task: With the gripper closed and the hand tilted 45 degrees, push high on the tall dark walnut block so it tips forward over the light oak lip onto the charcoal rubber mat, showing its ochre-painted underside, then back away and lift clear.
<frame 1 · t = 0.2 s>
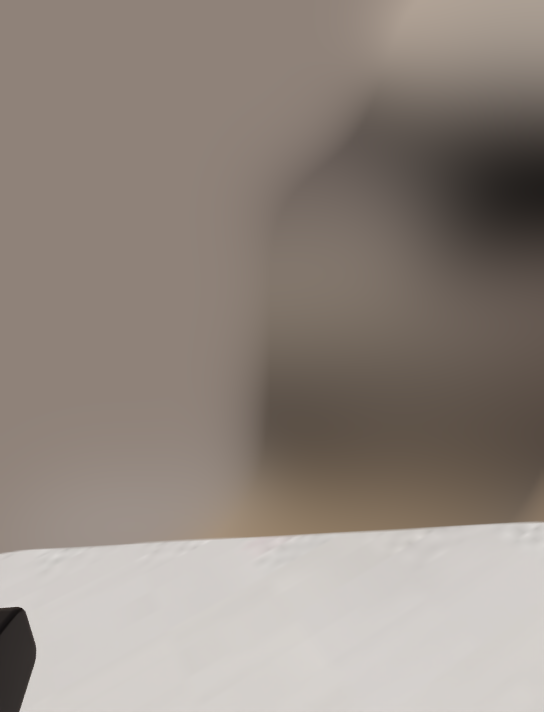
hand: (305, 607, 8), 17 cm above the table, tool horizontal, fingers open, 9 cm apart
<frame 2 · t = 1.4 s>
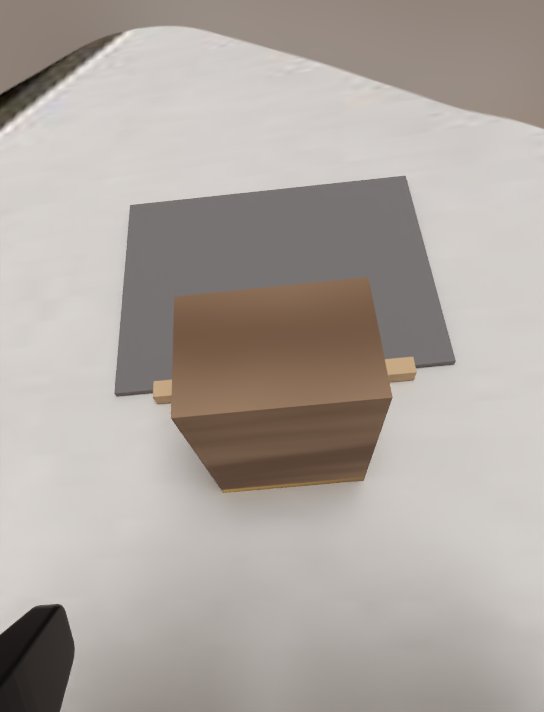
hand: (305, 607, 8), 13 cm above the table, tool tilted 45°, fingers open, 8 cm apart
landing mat: (274, 277, 27), on the table
walnut block: (289, 441, 23), on the table
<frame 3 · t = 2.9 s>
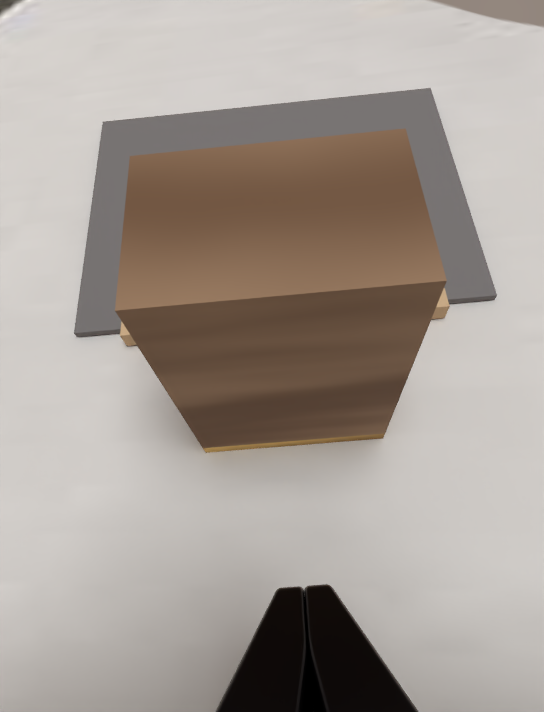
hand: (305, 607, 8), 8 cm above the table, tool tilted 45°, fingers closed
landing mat: (273, 201, 22), on the table
walnut block: (289, 391, 18), on the table
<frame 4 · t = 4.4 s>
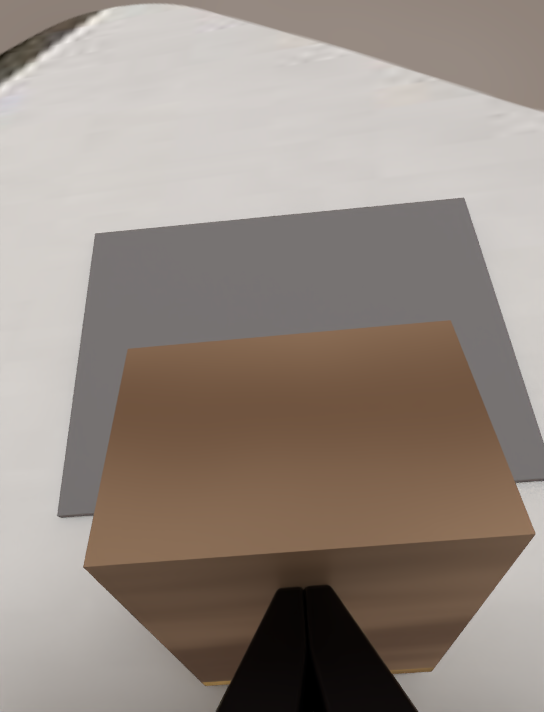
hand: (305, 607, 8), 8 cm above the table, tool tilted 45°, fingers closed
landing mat: (287, 339, 19), on the table
walnut block: (310, 598, 15), on the table, tilted 14°
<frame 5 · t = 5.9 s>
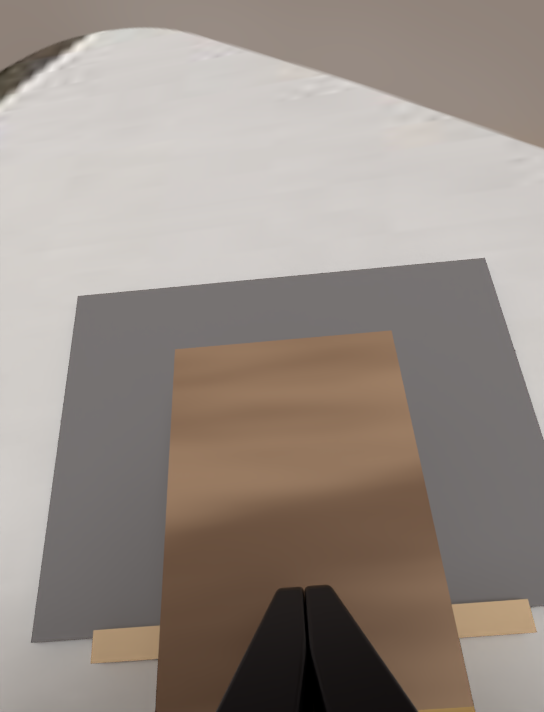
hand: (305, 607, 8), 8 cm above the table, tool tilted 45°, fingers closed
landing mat: (291, 425, 17), on the table
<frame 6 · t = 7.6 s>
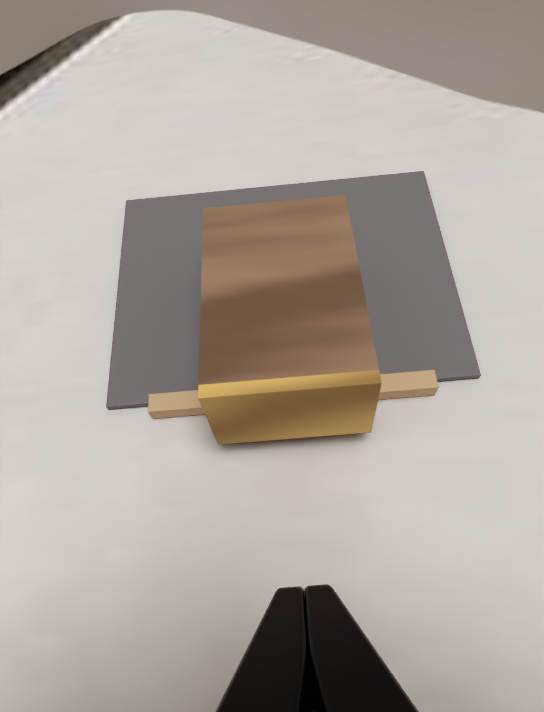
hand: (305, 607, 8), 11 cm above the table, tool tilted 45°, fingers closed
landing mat: (281, 280, 25), on the table
walnut block: (291, 416, 18), point 3 cm above the table, tilted 94°, touching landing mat
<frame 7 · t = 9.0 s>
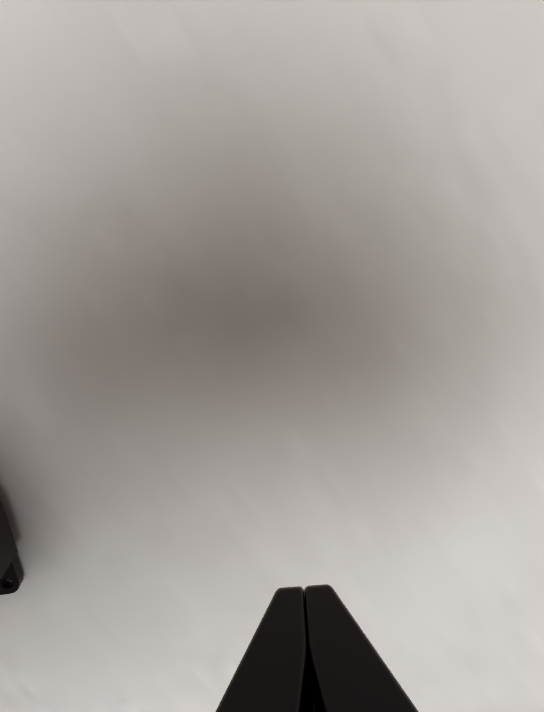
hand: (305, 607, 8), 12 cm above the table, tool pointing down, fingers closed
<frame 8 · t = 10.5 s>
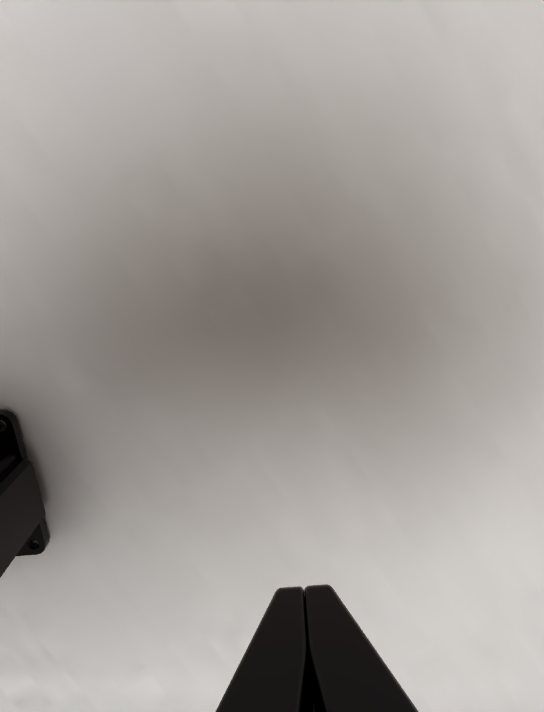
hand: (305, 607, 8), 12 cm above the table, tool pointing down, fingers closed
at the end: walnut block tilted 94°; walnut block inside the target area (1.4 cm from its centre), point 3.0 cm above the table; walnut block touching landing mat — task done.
